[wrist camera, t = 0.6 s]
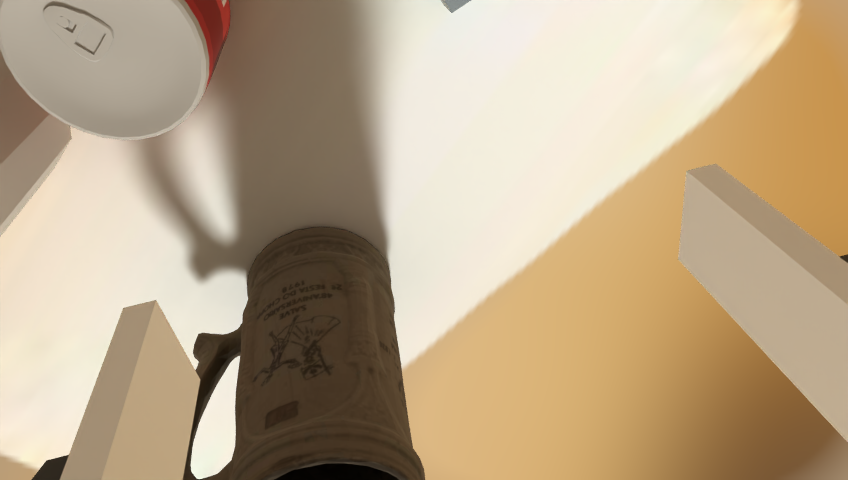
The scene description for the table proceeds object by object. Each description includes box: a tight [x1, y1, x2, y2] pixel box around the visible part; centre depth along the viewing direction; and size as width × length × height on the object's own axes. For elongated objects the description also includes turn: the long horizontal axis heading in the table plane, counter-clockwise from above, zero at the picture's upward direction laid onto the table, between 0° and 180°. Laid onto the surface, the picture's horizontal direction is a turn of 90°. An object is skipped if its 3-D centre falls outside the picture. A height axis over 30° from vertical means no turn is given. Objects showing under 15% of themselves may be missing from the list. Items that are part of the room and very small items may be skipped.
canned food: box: [0, 0, 230, 140], centre depth 29 cm, size 8×8×11 cm
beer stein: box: [183, 227, 425, 480], centre depth 38 cm, size 15×11×20 cm
